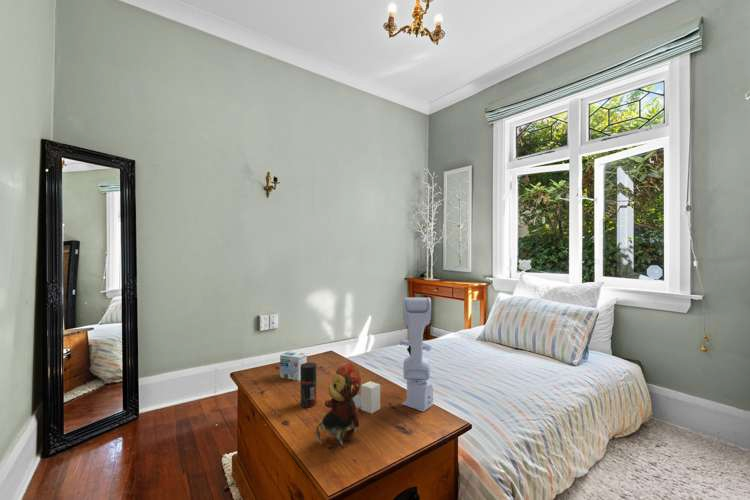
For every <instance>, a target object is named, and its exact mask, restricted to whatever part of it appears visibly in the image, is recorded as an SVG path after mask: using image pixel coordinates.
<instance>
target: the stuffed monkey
mask: <svg viewBox="0 0 750 500" xmlns="http://www.w3.org/2000/svg"><path fill="white" fill-rule="evenodd" d="M361 382H362V379H361V375H360V369H359V368H358V366H357V365H356V364H355V363H353V362H352V361H351V362H350V361H347V362H345V363H342V364H341V365H340V366H339V367H337V368H336V370H335V371H334V374H333V378H332V382H331V384H329V387H328V395H329V396H330V397H331V399H329V400H325V401H324V405H325V406H326V408H328V409H330V408H331V409H330V410H329V412H327V413H326V414H325V415H324V417H323V418H321V419H319V420H318V422H319V424H318V425H317V426H316V431H315V432H316V437H317V439H318V442H319V444H320V446H322V441H321V433H320V432H321V431H323V430H324V431H326V432H328V433H329V434H331V435H332V436H333V437H334V438H336V439H337V440H338V442H339V443H340V444H341V446H344V444H343V442H344V437H345V432H346V431H350V430H352V429H353V432H354V433H356V432H357V430H358V429H357V428H359V426H360V418H359V412H358V411H359V409H358V408H357V406H355V402H354V400H353V398H354V397H355V396H356V395H359V392H360V390H361V385H362V383H361ZM325 406H324V407H325ZM320 421H321V422H320ZM319 428H320V430H319Z"/></svg>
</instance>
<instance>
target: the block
mask: <svg viewBox="0 0 750 500" xmlns="http://www.w3.org/2000/svg"><path fill="white" fill-rule="evenodd" d="M360 396H361V408H360V409H361V411H364V412H366V413H370V414H374V413H375V412H377V411H379V410H380V409H381V384H380V383H377V382H374V381H371V380H370V381H367V382H365V383H363V384H360Z"/></svg>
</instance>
